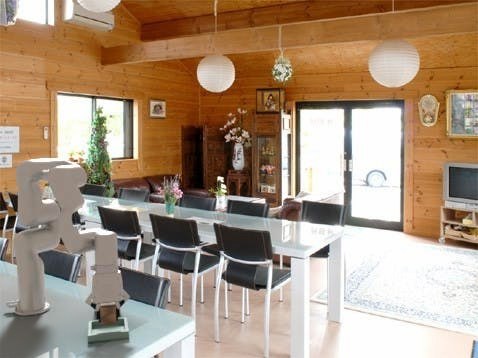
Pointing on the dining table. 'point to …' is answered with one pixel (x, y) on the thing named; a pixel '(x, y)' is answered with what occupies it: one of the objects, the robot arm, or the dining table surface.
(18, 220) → the robot arm
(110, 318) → the walnut block
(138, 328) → the dining table surface
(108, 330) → the rest tray
